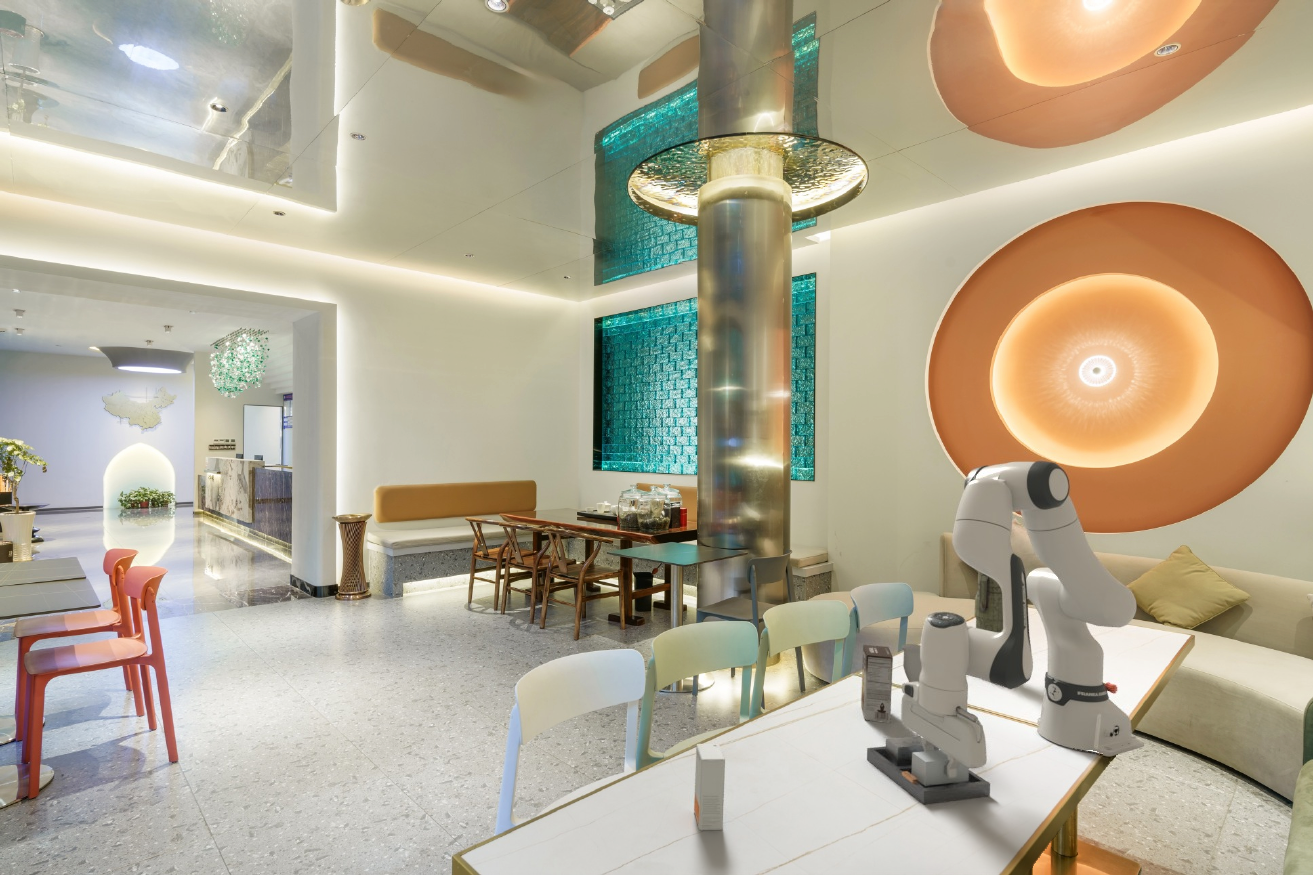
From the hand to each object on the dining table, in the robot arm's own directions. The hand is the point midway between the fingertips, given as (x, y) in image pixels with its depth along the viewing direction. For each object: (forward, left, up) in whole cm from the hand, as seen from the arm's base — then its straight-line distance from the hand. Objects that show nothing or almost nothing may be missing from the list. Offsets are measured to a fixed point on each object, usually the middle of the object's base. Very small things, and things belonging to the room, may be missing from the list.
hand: (940, 769), depth 129 cm
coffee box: (-9, -34, -4) cm, 36 cm away
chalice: (-16, -28, -4) cm, 33 cm away
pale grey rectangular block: (0, 0, -2) cm, 2 cm away
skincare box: (+49, +2, -4) cm, 49 cm away
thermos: (-62, -54, -4) cm, 82 cm away
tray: (0, -4, -4) cm, 5 cm away
